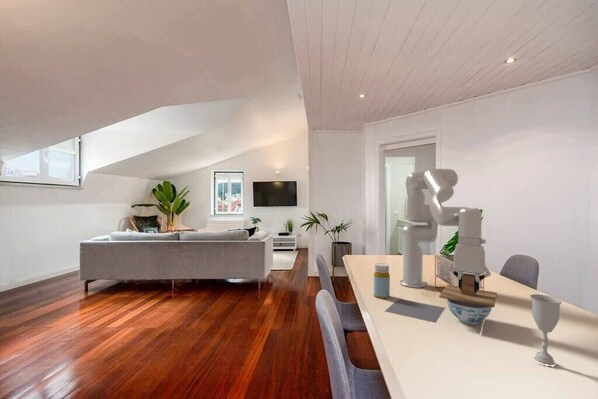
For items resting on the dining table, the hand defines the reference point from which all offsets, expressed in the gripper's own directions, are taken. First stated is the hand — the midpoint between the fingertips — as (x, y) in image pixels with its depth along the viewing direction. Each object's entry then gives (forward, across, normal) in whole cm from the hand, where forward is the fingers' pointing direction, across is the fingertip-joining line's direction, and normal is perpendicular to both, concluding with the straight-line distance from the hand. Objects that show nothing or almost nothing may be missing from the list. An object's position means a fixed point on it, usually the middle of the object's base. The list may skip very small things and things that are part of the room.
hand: (468, 290), depth 115 cm
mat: (+12, +19, 0) cm, 22 cm away
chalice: (+12, -21, +20) cm, 31 cm away
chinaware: (+12, 0, 0) cm, 12 cm away
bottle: (+12, +36, -8) cm, 39 cm away
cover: (+2, 0, 0) cm, 2 cm away
